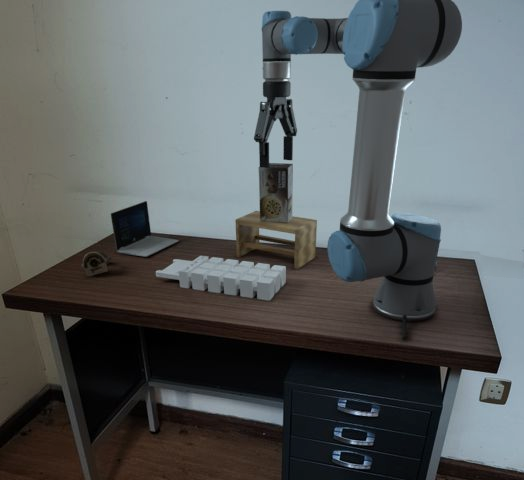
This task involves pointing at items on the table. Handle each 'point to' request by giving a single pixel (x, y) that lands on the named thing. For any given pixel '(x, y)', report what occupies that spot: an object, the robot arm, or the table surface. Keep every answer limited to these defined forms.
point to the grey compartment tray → (227, 276)
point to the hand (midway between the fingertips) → (276, 163)
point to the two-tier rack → (299, 226)
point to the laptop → (136, 232)
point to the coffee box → (276, 192)
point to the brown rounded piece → (95, 263)
